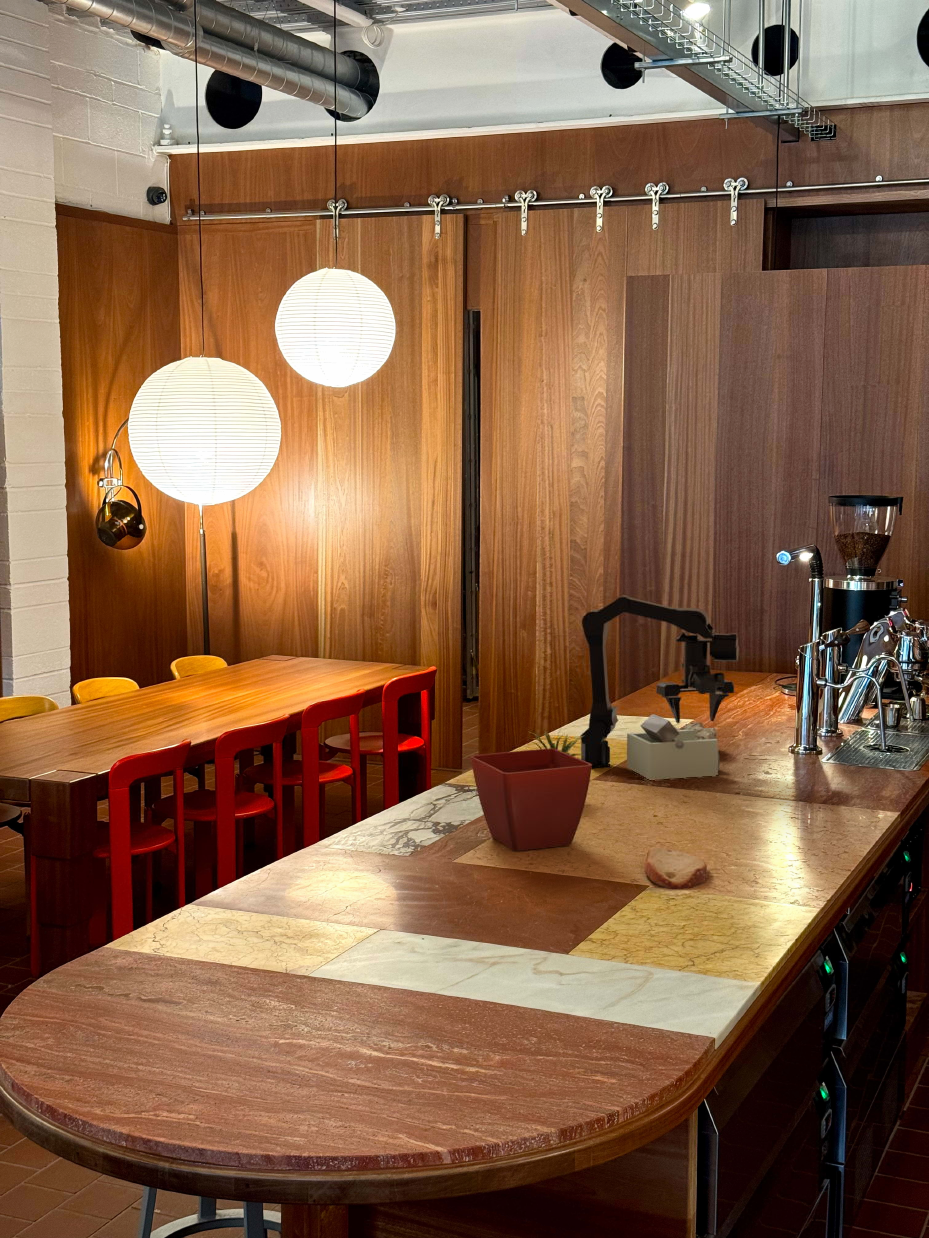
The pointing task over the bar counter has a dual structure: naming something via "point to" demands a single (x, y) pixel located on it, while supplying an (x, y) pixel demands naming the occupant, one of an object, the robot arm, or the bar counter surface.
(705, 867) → the bread slice
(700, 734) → the geode
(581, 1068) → the bar counter surface
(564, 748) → the house plant
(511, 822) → the plant pot
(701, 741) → the pale green open box
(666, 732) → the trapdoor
